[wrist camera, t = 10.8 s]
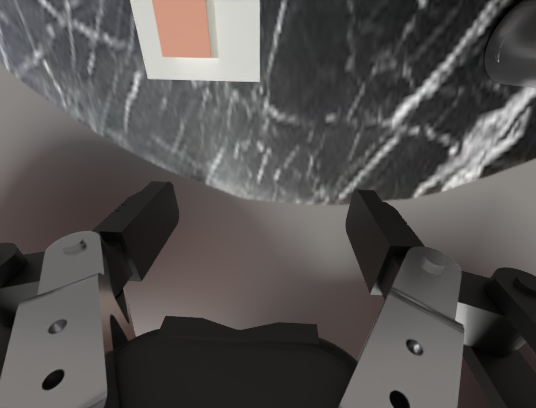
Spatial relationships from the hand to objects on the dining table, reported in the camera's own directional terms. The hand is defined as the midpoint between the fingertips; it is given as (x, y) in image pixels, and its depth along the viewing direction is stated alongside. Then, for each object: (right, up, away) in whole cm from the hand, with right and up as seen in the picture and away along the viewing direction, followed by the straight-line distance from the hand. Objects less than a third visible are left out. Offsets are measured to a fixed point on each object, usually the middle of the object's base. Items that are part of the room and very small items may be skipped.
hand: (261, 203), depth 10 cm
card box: (-9, +23, +16) cm, 29 cm away
